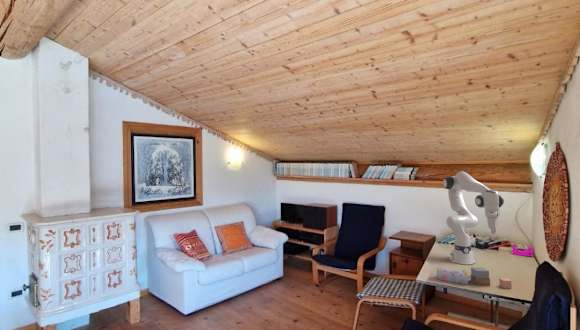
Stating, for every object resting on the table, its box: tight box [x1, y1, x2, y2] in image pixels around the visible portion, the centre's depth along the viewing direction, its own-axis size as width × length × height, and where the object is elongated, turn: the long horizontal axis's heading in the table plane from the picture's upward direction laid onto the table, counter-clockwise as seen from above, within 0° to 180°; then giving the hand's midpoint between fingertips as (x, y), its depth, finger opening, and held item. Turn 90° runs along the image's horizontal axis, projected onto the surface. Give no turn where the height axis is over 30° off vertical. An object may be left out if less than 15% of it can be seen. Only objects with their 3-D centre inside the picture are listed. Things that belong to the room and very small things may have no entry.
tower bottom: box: [469, 273, 491, 286], centre depth 231 cm, size 9×9×5 cm
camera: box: [474, 236, 490, 251], centre depth 323 cm, size 15×11×10 cm
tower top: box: [470, 266, 490, 278], centre depth 231 cm, size 8×8×5 cm
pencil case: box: [435, 267, 470, 286], centre depth 234 cm, size 21×9×10 cm, turn 60°
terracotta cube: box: [498, 277, 513, 289], centre depth 223 cm, size 5×5×5 cm
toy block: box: [511, 244, 534, 257], centre depth 300 cm, size 15×6×8 cm, turn 56°
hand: (493, 233), depth 232 cm, fingers open, 8 cm apart
